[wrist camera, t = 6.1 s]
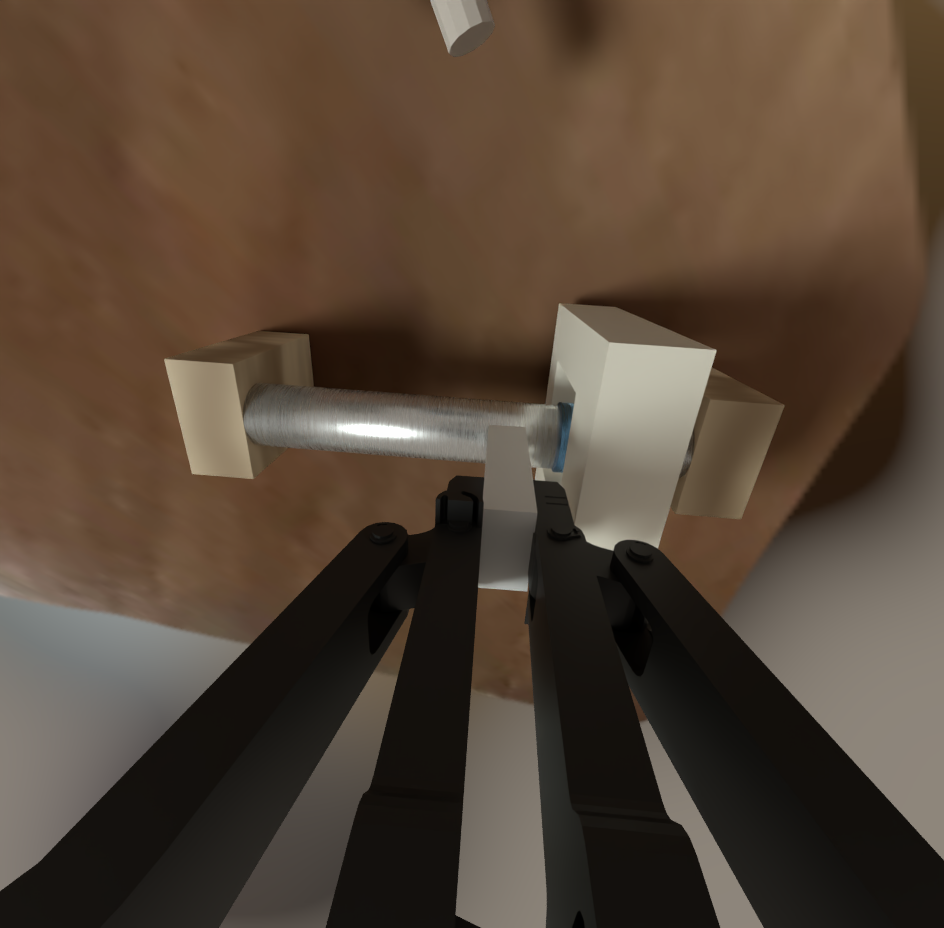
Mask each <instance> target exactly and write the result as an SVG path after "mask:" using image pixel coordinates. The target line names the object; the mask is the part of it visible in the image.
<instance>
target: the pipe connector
mask: <svg viewBox="0 0 944 928" xmlns="http://www.w3.org/2000/svg"><path fill="white" fill-rule="evenodd" d="M430 1H431V4H432V7H433V10H434V12H435V15H436V18H437V21H438V24H439V26H440V29H441V32H442V35H443V38H444V40H445V43H446V46H447V49H448V52H449V54H450V55H452V56H453V57H457V56H463V55H465V54H467V53H469V52H471V51H473V50H475V49H476V48H477V47H479V46H480V45H481V44H483V43H484V42H485V41H486V40H487V39H488V37H489V36H490V35H491V34H492V32H493V29H494V27H495V24H494V21H493V18H492V15H491V12H490V9H489V6H488V2H487V0H430Z"/></svg>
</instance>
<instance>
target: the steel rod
mask: <svg viewBox="0 0 944 928" xmlns="http://www.w3.org/2000/svg"><path fill="white" fill-rule="evenodd" d="M573 409H574V403H564V402H559V403H558V405H548V404H535V403H521V402H508V401H495V400H482V399H469V398H455V397H442V396H429V395H416V394H403V393H389V392H376V391H363V390H350V389H337V388H323V387H310V386H297V385H284V384H270V383H256V384H255V385H253V386H252V387H251V388H250V390H249V391H248V393H247V395H246V398H245V402H244V407H243V423H244V428H245V432H246V434H247V436H248V438H249V440H250V441H251V442H252V443H254V444H255V445H263V446H275V447H287V448H300V449H312V450H325V451H337V452H350V453H362V454H375V455H387V456H400V457H412V458H424V459H437V460H449V461H462V462H474V463H486V452H487V440H488V428H489V425H502V426H516V427H526V434H527V441H528V448H529V455H530V463H531V467H536V468H549V469H552V471H553V472H559V473H563V469H564V463H565V457H566V451H567V445H568V439H569V433H570V427H571V421H572V415H573ZM694 446H695V434H694V428H693V432H692V435H691V438H690V442H689V445H688V448H687V452H686V455H685V458H684V462H683V465H682V469H681V472H680V475H679V478H681V477H682V476H684V475H685V473H686V472H687V470H688V468H689V466H690V464H691V461H692V458H693V453H694Z"/></svg>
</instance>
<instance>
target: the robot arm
mask: <svg viewBox="0 0 944 928" xmlns="http://www.w3.org/2000/svg"><path fill="white" fill-rule="evenodd" d="M528 581H529V594H528V601H527V609H526V616H525V623H524V624H528V623H529V638H530V652H531V667H532V682H533V696H534V711H535V726H536V740H537V755H538V768H539V769H538V770H539V784H540V799H541V813H542V828H543V843H544V857H545V872H546V887H547V916H546V928H720V926H719V923H718V920H717V916H716V913H715V910H714V907H713V904H712V901H711V898H710V895H709V892H708V888H707V885H706V882H705V879H704V876H703V873H702V870H701V867H700V864H699V861H698V858H697V855H696V852H695V850H694V848H693V845H692V842H691V840H690V838H689V836H688V834H687V833H686V831H685V830H684V828H683V827H682V825H680V824H678V823H676V822H674V821H672V820H671V819H670V818H669V816H668V815H667V813H666V810H665V808H664V805H663V802H662V799H661V795H660V792H659V788H658V785H657V781H656V779H655V775H654V771H653V768H652V764H651V761H650V757H649V754H648V751H647V747H646V744H645V740H644V737H643V733H642V731H641V727H640V723H639V720H638V716H637V713H636V710H635V706H634V703H633V699H632V696H631V692H630V689H629V687H630V688H631V690H632V692H633V694H634V696H635V697H636V699H637V701H638V703H639V705H640V706H641V708H642V710H643V712H644V713H645V715H646V717H647V719H648V721H649V722H650V724H651V726H652V728H653V730H654V731H655V733H656V735H657V737H658V739H659V740H660V742H661V744H662V746H663V748H664V749H665V751H666V753H667V755H668V757H669V758H670V760H671V762H672V764H673V765H674V767H675V769H676V771H677V773H678V774H679V776H680V778H681V780H682V781H683V783H684V785H685V787H686V789H687V791H688V792H689V794H690V796H691V798H692V800H693V801H694V803H695V805H696V807H697V809H698V810H699V812H700V814H701V816H702V818H703V819H704V821H705V823H706V825H707V826H708V828H709V830H710V832H711V834H712V835H713V837H714V839H715V841H716V842H717V844H718V846H719V848H720V850H721V851H722V853H723V855H724V857H725V859H726V861H727V862H728V864H729V866H730V868H731V870H732V871H733V873H734V875H735V876H736V879H737V880H738V882H739V884H740V886H741V887H742V889H743V891H744V893H745V895H746V896H747V898H748V900H749V902H750V904H751V905H752V907H753V909H754V911H755V913H756V914H757V916H758V918H759V920H760V922H761V923H762V925H763V927H764V928H944V860H943V859H942V858H941V857H940V856H939V855H938V854H937V852H935V850H934V849H933V848H932V847H931V846H930V845H929V844H928V842H927V841H926V840H925V839H924V838H923V837H922V836H921V835H920V834H919V833H918V832H917V831H916V829H915V828H914V827H913V826H912V825H911V824H910V823H909V822H908V821H907V820H906V818H905V817H904V816H903V815H902V814H901V813H900V812H899V811H898V810H897V809H896V808H895V807H894V805H893V804H892V803H891V802H890V801H889V800H888V799H887V798H886V797H885V795H884V794H883V793H882V792H881V791H880V790H879V789H878V788H877V787H876V786H875V785H874V783H873V782H872V781H871V780H870V779H869V778H868V777H867V776H866V775H865V774H864V773H863V772H862V771H861V769H860V768H859V767H858V766H857V765H856V764H855V763H854V762H853V760H852V759H851V758H850V757H849V756H848V755H847V754H846V753H845V752H844V751H843V750H842V748H840V746H839V745H838V744H837V743H836V742H835V741H834V740H833V739H832V738H831V737H830V735H829V734H828V733H827V732H826V731H825V730H824V729H823V728H822V727H821V726H820V724H819V723H818V722H817V721H816V720H815V719H814V718H813V717H812V716H811V715H810V713H809V712H808V711H807V710H806V709H805V708H804V707H803V706H802V705H801V704H800V703H799V702H798V701H797V699H796V698H795V697H794V696H793V695H792V694H791V693H790V692H789V691H788V689H787V688H786V687H785V686H784V685H783V684H782V683H781V682H780V681H779V680H778V679H777V677H775V675H774V674H773V673H772V672H771V671H770V670H769V669H768V668H767V666H766V665H765V664H764V663H763V662H762V661H761V660H760V659H759V658H758V657H757V656H756V655H755V653H754V652H753V651H752V650H751V649H750V648H749V647H748V646H747V645H746V644H745V643H744V641H743V640H742V639H741V638H740V637H739V636H738V635H737V634H736V633H735V631H734V630H733V629H732V628H731V627H730V626H729V625H728V624H727V623H726V622H725V621H724V619H723V618H722V617H721V616H720V615H719V614H718V613H717V612H716V611H715V610H714V609H713V607H712V606H711V605H710V604H709V603H708V602H707V601H706V600H705V599H704V598H703V597H702V595H701V594H700V593H699V592H698V591H697V590H696V589H695V588H694V587H693V586H692V584H691V583H690V582H689V581H688V580H687V579H686V578H685V577H684V576H683V575H682V574H681V572H680V571H679V570H678V569H677V568H676V567H675V566H674V565H673V564H672V563H671V562H670V560H669V559H668V558H667V557H666V556H665V555H664V554H663V553H662V552H661V551H660V550H658V549H657V548H656V547H654V546H652V545H650V544H648V543H646V542H643V541H638V540H623V541H619V542H618V543H617V544H615V547H614V551H612V550H609V549H605V548H601V547H598V546H595V545H593V544H591V543H589V542H587V541H586V538H585V535H584V534H583V532H582V530H581V529H579V528H578V527H576V526H575V525H574V521H573V517H572V514H571V510H570V506H569V503H568V499H567V495H566V492H565V489H564V488H563V487H562V486H561V485H560V484H559V483H558V482H553V481H539V480H533V477H532V470H531V463H530V455H529V448H528V441H527V434H526V427H516V426H502V425H489V428H488V440H487V452H486V465H485V477H484V478H483V477H469V476H455V477H454V478H453V479H452V480H451V481H450V482H449V484H448V489H447V491H444V492H442V493H440V494H439V495H438V496H437V498H436V516H435V528H433V529H432V530H430V531H427V532H424V533H420V534H414V535H408V534H407V530H406V529H405V528H404V527H402V526H401V525H398V524H396V523H389V522H382V523H381V522H380V523H375V524H372V525H369V526H367V527H366V528H364V529H363V530H361V531H360V532H359V533H358V534H357V535H356V536H355V537H354V539H353V540H352V541H351V542H350V543H349V544H348V545H347V546H346V547H345V548H344V549H343V550H342V551H341V552H340V553H339V554H338V555H337V556H336V557H335V558H334V559H333V560H332V561H331V562H330V563H329V564H328V565H327V566H326V567H325V568H324V569H323V570H322V571H321V572H320V574H319V575H318V576H317V577H316V578H315V579H314V580H313V581H312V582H311V583H310V584H309V585H308V586H307V587H306V588H305V589H304V590H303V591H302V592H301V593H300V594H299V595H298V596H297V597H296V598H295V599H294V600H293V601H292V602H291V603H290V604H289V605H288V606H287V608H286V609H285V610H284V611H283V612H282V613H281V614H280V615H279V616H278V617H277V618H276V619H275V620H274V621H273V622H272V623H271V624H270V625H269V626H268V627H267V628H266V629H265V630H264V631H263V632H262V633H261V634H260V635H259V636H258V637H257V638H256V639H255V640H254V641H253V643H252V644H251V645H250V646H249V647H248V648H247V649H246V650H245V651H244V652H243V653H242V654H241V655H240V656H239V657H238V658H237V659H236V660H235V661H234V662H233V663H232V664H231V665H230V666H229V667H228V669H226V670H225V671H224V672H223V673H222V674H221V675H220V677H219V678H218V679H217V680H216V681H215V682H214V683H213V684H212V685H211V686H210V687H209V688H208V689H207V690H206V691H205V692H204V693H203V694H202V695H201V696H200V697H199V698H198V699H197V700H196V701H195V702H194V703H193V704H192V705H191V707H189V708H188V709H187V711H186V712H185V713H184V714H183V715H182V716H181V717H180V718H179V719H178V720H177V721H176V722H175V723H174V724H173V725H172V726H171V727H170V728H169V729H168V730H167V731H166V732H165V733H164V734H163V735H162V736H161V737H160V739H158V740H157V741H156V743H154V744H153V746H152V747H151V748H150V749H149V750H148V751H147V752H146V753H145V754H144V755H143V756H142V757H141V758H140V759H139V760H138V761H137V762H136V763H135V764H134V765H133V766H132V767H131V768H130V769H129V770H128V771H127V772H126V773H125V774H124V776H122V777H121V779H120V780H119V781H118V782H117V783H116V784H115V785H114V786H113V787H112V788H111V789H110V790H109V791H108V792H107V793H106V794H105V795H104V796H103V797H102V798H101V799H100V800H99V801H98V802H97V803H96V804H95V805H94V806H93V807H92V808H91V809H90V810H89V811H88V813H86V815H85V816H84V817H83V818H82V819H81V820H80V821H79V822H78V823H77V824H76V825H75V826H74V827H73V828H72V829H71V830H70V831H69V832H68V833H67V834H66V835H65V836H64V837H63V838H62V839H61V841H59V842H58V843H57V844H56V846H54V848H52V850H51V851H50V852H49V853H48V854H47V855H46V856H45V857H44V858H43V859H42V860H41V861H40V862H39V863H38V864H36V865H35V866H34V867H32V868H31V869H29V870H28V871H27V872H26V873H24V874H23V875H21V876H20V877H19V878H17V879H16V880H15V881H13V882H12V883H11V884H9V885H8V886H7V887H5V888H4V889H2V890H1V891H0V928H219V926H220V925H221V923H222V922H223V920H224V918H225V917H226V915H227V913H228V912H229V910H230V908H231V907H232V905H233V903H234V901H235V900H236V898H237V897H238V895H239V893H240V892H241V890H242V888H243V887H244V885H245V883H246V881H247V880H248V878H249V877H250V875H251V874H252V872H253V870H254V869H255V867H256V865H257V864H258V862H259V860H260V859H261V857H262V855H263V853H264V852H265V850H266V849H267V847H268V845H269V844H270V842H271V840H272V839H273V837H274V835H275V834H276V832H277V830H278V829H279V827H280V826H281V823H282V822H283V821H284V819H285V817H286V816H287V814H288V812H289V811H290V809H291V807H292V806H293V804H294V802H295V801H296V799H297V797H298V796H299V794H300V792H301V791H302V789H303V787H304V786H305V784H306V783H307V781H308V779H309V778H310V776H311V774H312V773H313V771H314V769H315V768H316V766H317V764H318V763H319V761H320V759H321V758H322V756H323V754H324V753H325V751H326V749H327V748H328V746H329V744H330V743H331V741H332V740H333V738H334V736H335V734H336V733H337V731H338V730H339V728H340V726H341V725H342V723H343V721H344V720H345V718H346V716H347V715H348V713H349V711H350V710H351V708H352V706H353V705H354V703H355V701H356V699H357V698H358V696H359V695H360V693H361V692H362V690H363V688H364V687H365V685H366V683H367V682H368V680H369V678H370V677H371V675H372V673H373V672H374V670H375V668H376V667H377V665H378V663H379V662H380V660H381V658H382V657H383V655H384V653H385V652H386V650H387V649H388V647H389V645H390V644H391V642H392V640H393V639H394V637H395V635H396V634H397V632H398V630H399V629H400V627H401V625H402V624H403V622H404V620H405V619H406V617H407V615H408V612H409V609H411V608H415V609H414V613H413V617H412V621H411V625H410V629H409V633H408V637H407V642H406V646H405V650H404V654H403V658H402V662H401V666H400V670H399V674H398V678H397V682H396V686H395V690H394V695H393V699H392V703H391V707H390V711H389V715H388V719H387V723H386V727H385V731H384V735H383V739H382V743H381V748H380V752H379V756H378V759H377V764H376V768H375V772H374V776H373V779H372V783H371V786H370V788H369V790H368V791H367V792H365V793H364V794H363V796H362V798H361V800H360V802H359V805H358V808H357V812H356V815H355V818H354V822H353V826H352V830H351V833H350V837H349V841H348V845H347V848H346V852H345V856H344V860H343V864H342V867H341V871H340V875H339V879H338V883H337V887H336V890H335V894H334V898H333V902H332V906H331V909H330V913H329V917H328V921H327V925H326V928H480V927H478V926H476V925H474V924H472V923H470V922H468V921H466V920H464V919H462V918H460V917H458V916H456V915H455V912H456V898H457V883H458V869H459V854H460V840H461V825H462V811H463V795H464V781H465V767H466V752H467V738H468V724H469V710H470V695H471V681H472V666H473V652H474V638H475V623H476V609H477V595H478V587H479V588H492V589H504V590H516V591H527V587H528ZM628 685H629V686H628Z"/></svg>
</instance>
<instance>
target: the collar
mask: <svg viewBox="0 0 944 928" xmlns="http://www.w3.org/2000/svg"><path fill="white" fill-rule="evenodd" d="M716 351H717V350H715V349H713V348H711V347H708V346H706V345H704V344H701V343H699V342H697V341H694V340H692V339H690V338H687V337H685V336H683V335H680V334H678V333H676V332H673V331H671V330H669V329H666V328H664V327H662V326H659V325H657V324H654V323H652V322H650V321H647V320H645V319H643V318H640V317H638V316H636V315H633V314H631V313H629V312H626V311H624V310H622V309H619V308H617V307H608V306H593V305H579V304H564V303H559V308H558V315H557V322H556V330H555V337H554V344H553V352H552V359H551V366H550V374H549V381H548V388H547V395H546V403H545V404H548V405H558V403H559V402H564V403H574V409H573V415H572V421H571V427H570V433H569V439H568V445H567V451H566V457H565V463H564V469H563V473H559V472H553V471H552V469H549V468H536V476H535V480H539V481H553V482H558V483H559V484H560V485H561V486H562V487H563V488H564V489H565V492H566V495H567V499H568V503H569V506H570V510H571V514H572V517H573V521H574V525H575V526H576V527H578V528H579V529H581V530H582V532H583V534H584V535H585V538H586V541H587V542H589V543H591V544H593V545H595V546H598V547H601V548H605V549H609V550H612V551H614V547H615V544H617V543H618V542H619V541H623V540H638V541H643V542H646V543H648V544H650V545H652V546H654V547H656V548H657V549H658V546H659V542H660V539H661V536H662V532H663V529H664V526H665V522H666V519H667V516H668V512H669V509H670V506H671V502H672V499H673V495H674V492H675V489H676V485H677V482H678V479H679V475H680V472H681V469H682V465H683V462H684V458H685V455H686V452H687V448H688V445H689V442H690V438H691V435H692V432H693V428H694V425H695V421H696V418H697V415H698V411H699V408H700V405H701V401H702V398H703V395H704V391H705V388H706V385H707V381H708V378H709V374H710V371H711V368H712V364H713V361H714V358H715V354H716Z"/></svg>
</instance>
